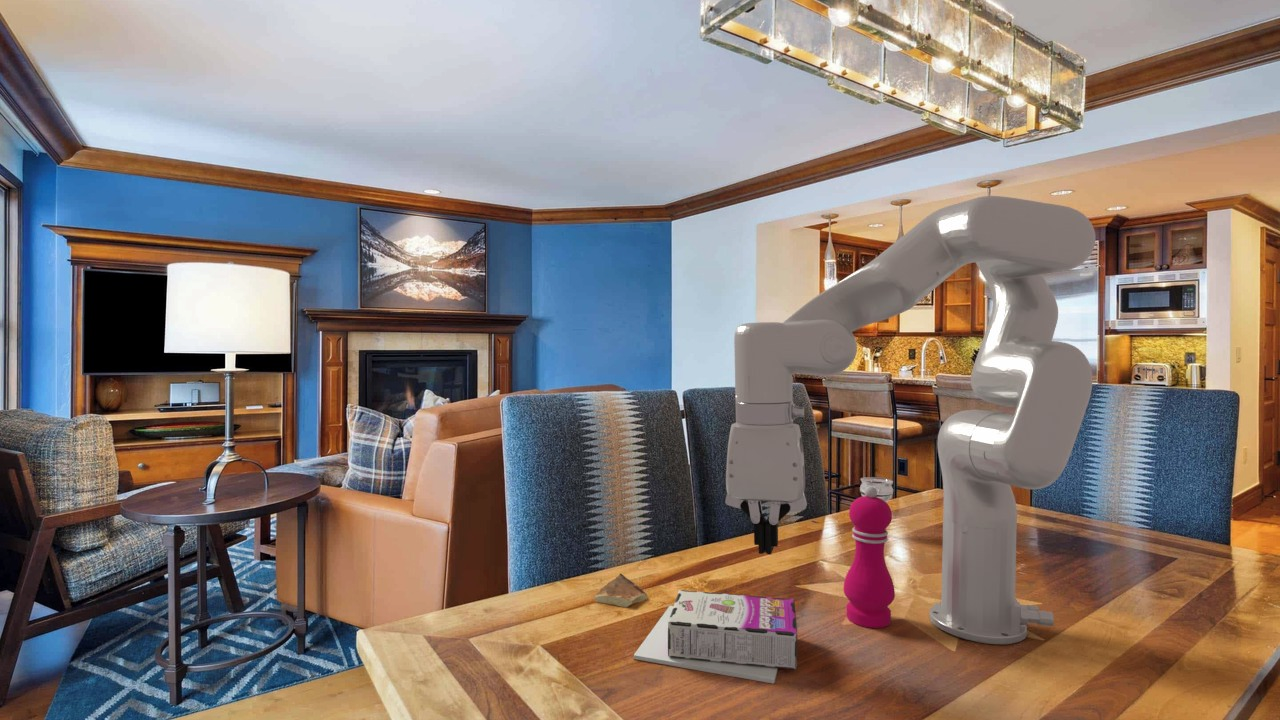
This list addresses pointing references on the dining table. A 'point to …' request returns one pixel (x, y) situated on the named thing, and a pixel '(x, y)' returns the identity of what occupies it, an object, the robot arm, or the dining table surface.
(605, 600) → the shard
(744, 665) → the pale gray mat
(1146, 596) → the dining table surface
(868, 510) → the pepper mill
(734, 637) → the candy bar box
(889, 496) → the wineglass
